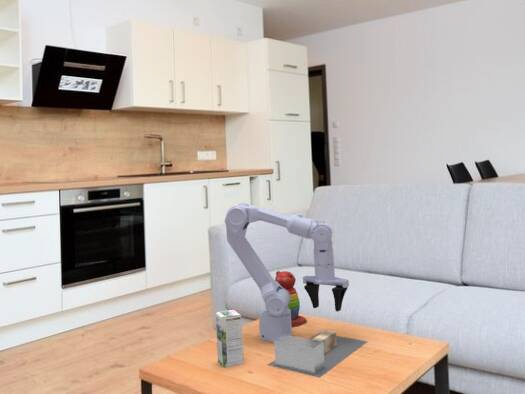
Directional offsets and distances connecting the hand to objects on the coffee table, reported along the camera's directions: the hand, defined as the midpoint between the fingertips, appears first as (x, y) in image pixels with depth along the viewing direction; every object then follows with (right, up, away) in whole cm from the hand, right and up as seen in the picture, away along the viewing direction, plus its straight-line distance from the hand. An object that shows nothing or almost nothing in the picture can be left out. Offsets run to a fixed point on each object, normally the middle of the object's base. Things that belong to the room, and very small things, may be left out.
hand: (327, 308), depth 149 cm
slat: (-4, -10, -11) cm, 15 cm away
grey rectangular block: (-9, -11, -18) cm, 23 cm away
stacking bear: (-11, -10, +21) cm, 26 cm away
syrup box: (-28, -13, -12) cm, 33 cm away
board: (-3, -11, -9) cm, 15 cm away
